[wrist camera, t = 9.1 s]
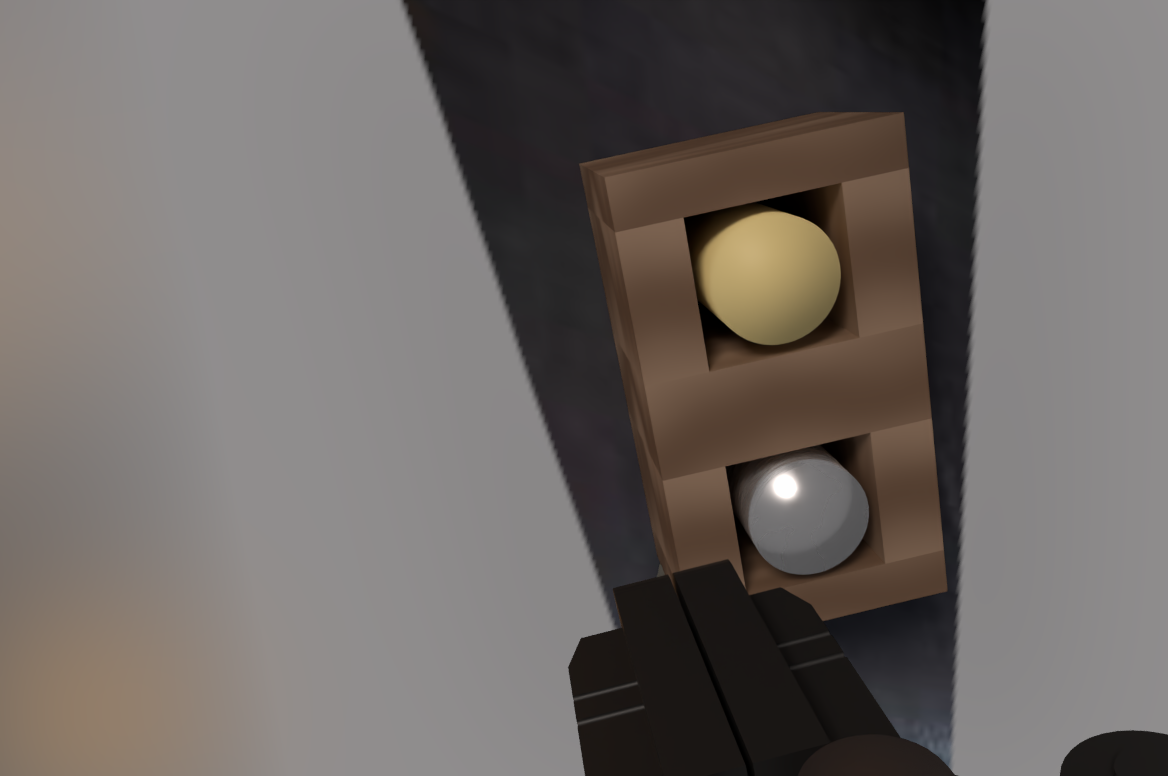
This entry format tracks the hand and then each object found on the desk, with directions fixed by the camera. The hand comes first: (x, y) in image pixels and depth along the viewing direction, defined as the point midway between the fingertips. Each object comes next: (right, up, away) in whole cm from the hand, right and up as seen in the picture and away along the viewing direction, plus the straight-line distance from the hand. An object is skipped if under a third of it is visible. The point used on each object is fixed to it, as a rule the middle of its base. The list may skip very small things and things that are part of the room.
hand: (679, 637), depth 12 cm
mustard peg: (+4, +9, +27) cm, 29 cm away
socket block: (+5, +5, +29) cm, 29 cm away
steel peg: (+6, +1, +30) cm, 30 cm away
